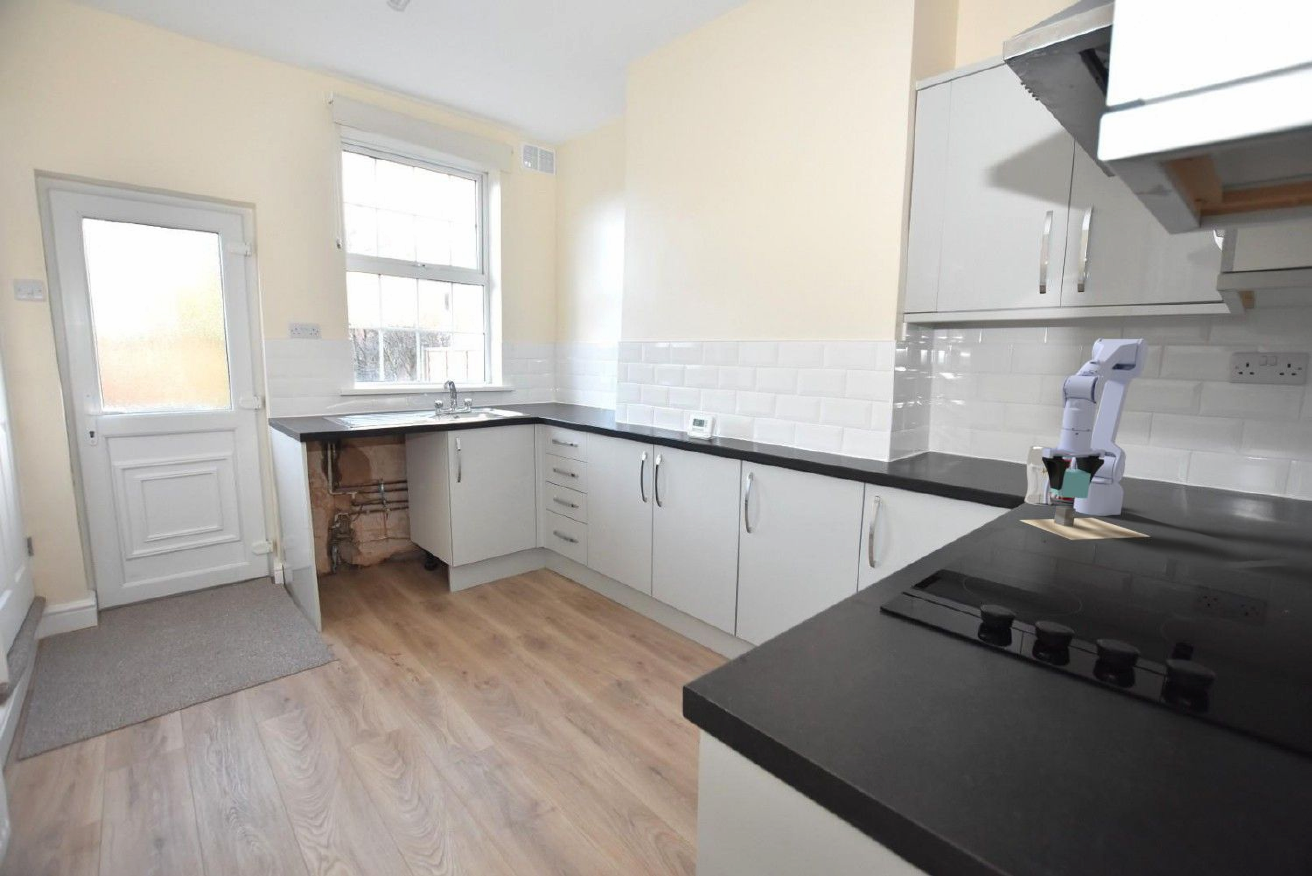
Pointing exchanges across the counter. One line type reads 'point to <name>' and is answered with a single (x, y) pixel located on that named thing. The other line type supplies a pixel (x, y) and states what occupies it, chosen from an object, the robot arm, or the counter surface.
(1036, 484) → the beer glass
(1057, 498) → the soda can
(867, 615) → the counter surface
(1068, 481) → the teal foam cube
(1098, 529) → the board
